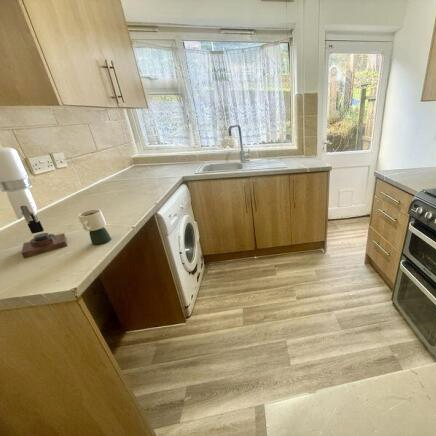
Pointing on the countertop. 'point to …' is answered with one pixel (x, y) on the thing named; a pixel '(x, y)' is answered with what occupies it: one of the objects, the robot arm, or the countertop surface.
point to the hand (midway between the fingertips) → (38, 231)
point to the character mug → (95, 226)
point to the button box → (44, 245)
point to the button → (41, 236)
